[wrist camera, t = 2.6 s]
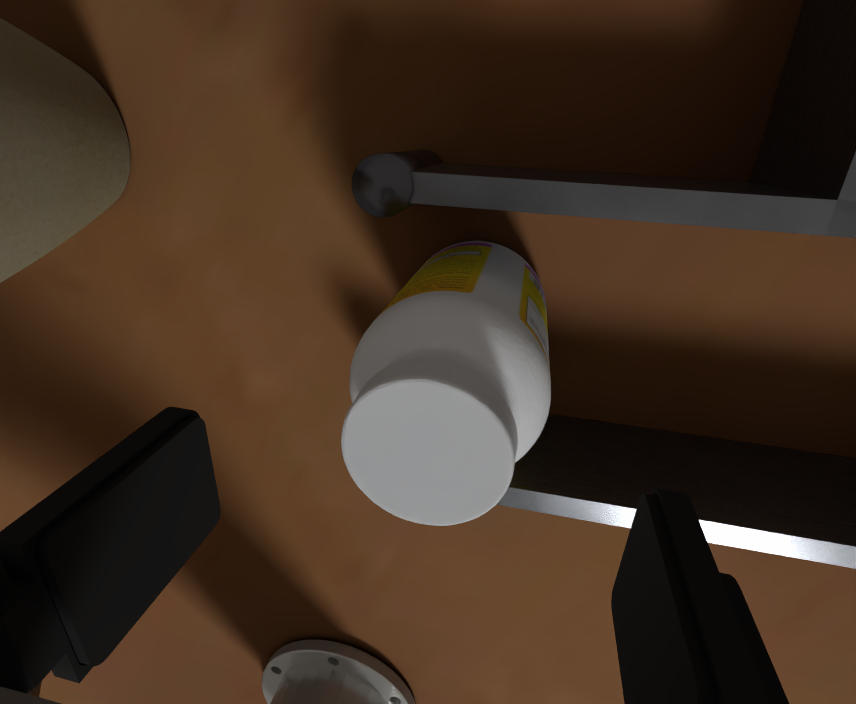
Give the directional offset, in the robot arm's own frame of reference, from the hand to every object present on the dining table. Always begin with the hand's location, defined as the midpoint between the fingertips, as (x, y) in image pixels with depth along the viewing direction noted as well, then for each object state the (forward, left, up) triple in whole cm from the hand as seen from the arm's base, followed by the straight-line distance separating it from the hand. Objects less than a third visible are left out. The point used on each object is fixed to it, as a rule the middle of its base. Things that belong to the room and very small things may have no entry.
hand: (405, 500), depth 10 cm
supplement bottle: (-1, 0, -15) cm, 15 cm away
